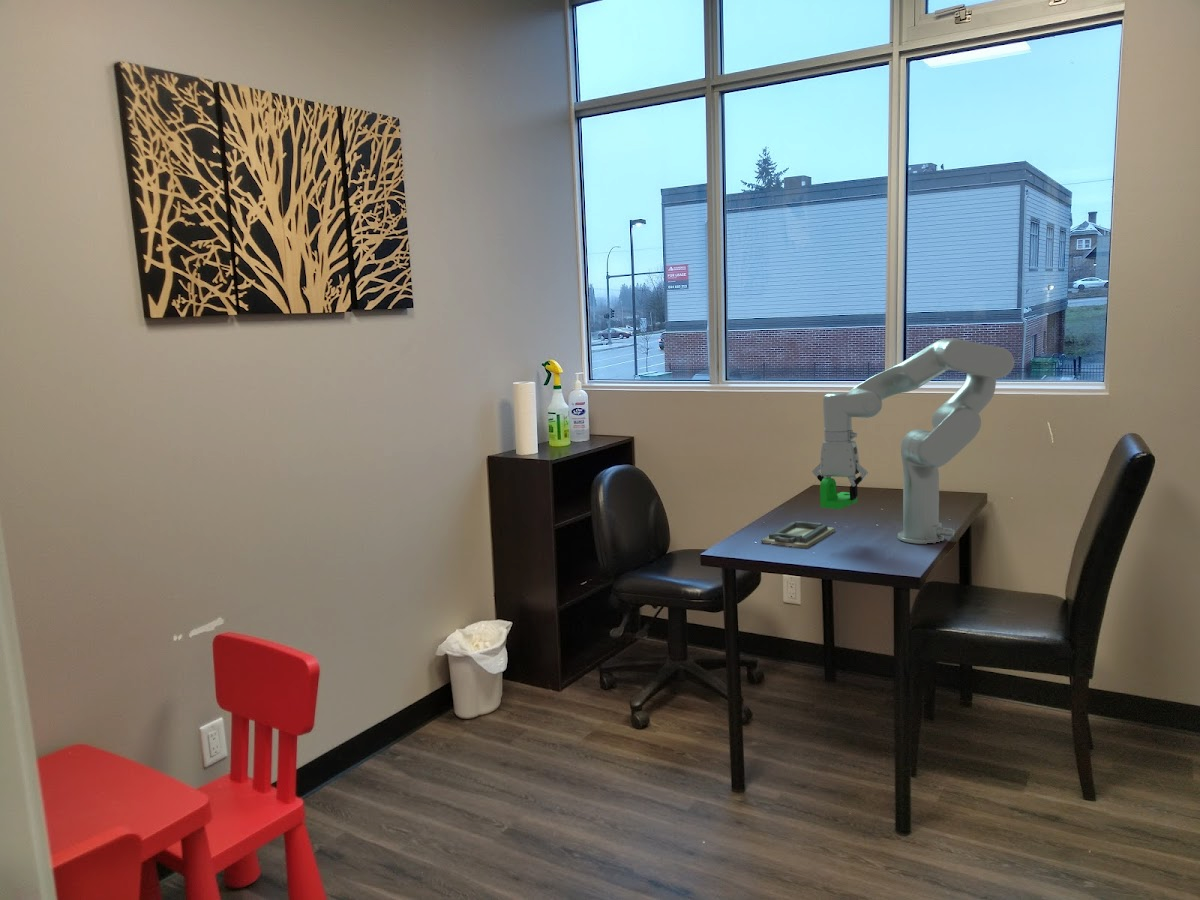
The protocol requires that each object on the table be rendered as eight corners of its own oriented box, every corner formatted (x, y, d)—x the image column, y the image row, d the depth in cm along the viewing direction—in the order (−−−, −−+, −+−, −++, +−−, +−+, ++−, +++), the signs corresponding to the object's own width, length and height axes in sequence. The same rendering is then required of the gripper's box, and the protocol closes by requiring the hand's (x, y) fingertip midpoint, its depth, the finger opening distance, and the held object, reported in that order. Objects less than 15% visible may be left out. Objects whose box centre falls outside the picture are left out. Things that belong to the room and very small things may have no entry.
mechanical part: (839, 509, 239) (838, 481, 238) (820, 507, 243) (819, 479, 242) (861, 500, 247) (860, 473, 246) (842, 498, 251) (841, 471, 250)
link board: (835, 531, 261) (834, 522, 260) (806, 548, 243) (806, 539, 243) (791, 526, 269) (791, 518, 268) (761, 543, 251) (761, 534, 251)
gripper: (873, 434, 240) (875, 497, 243) (813, 434, 250) (816, 494, 253) (864, 439, 234) (866, 503, 237) (803, 438, 244) (806, 499, 247)
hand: (840, 498), depth 245 cm, fingers closed on mechanical part, 6 cm apart
